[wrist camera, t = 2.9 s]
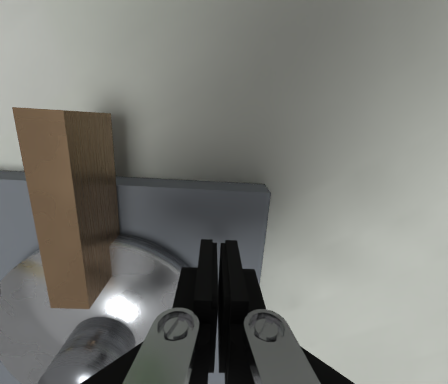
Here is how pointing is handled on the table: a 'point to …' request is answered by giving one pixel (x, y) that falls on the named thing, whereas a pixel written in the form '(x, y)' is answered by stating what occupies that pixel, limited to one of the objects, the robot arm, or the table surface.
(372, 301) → the table surface
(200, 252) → the robot arm
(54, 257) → the wooden handled frying pan
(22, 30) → the table surface
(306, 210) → the table surface
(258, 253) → the base plate
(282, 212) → the table surface
